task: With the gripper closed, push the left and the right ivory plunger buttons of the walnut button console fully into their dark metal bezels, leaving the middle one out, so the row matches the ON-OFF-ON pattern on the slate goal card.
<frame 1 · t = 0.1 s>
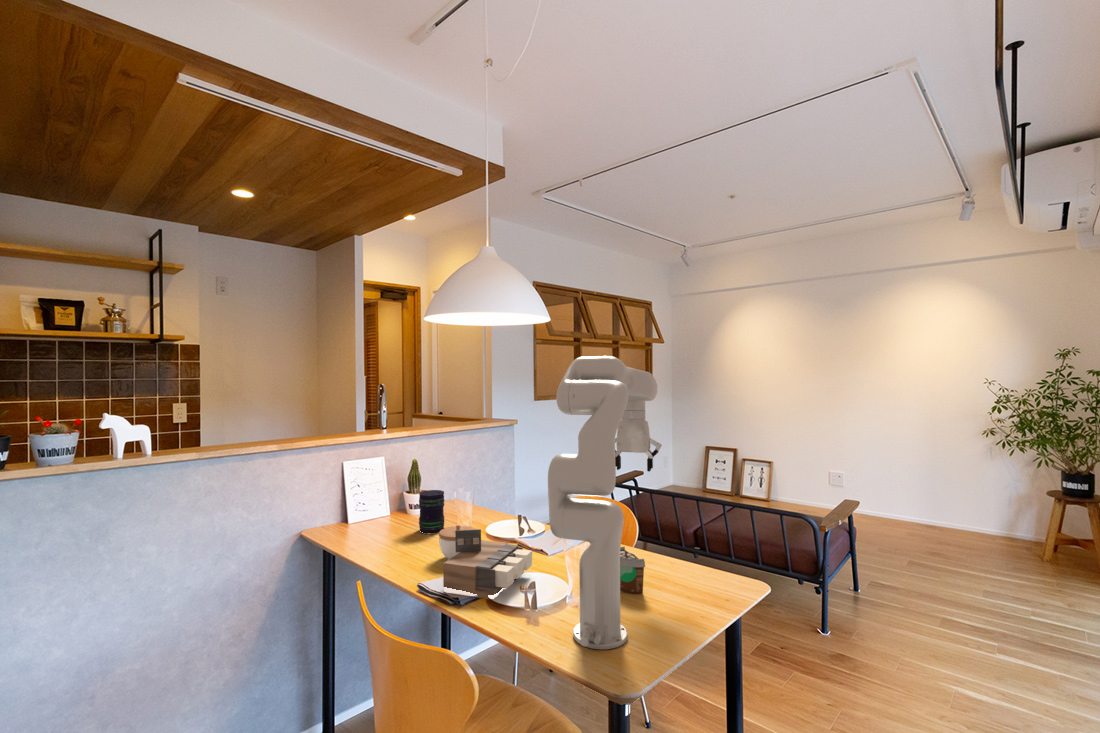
hand: (633, 469, 165), 31 cm above the table, fingers open, 9 cm apart
button mid: (512, 567, 153), point 5 cm above the table, slide at 0.0 cm
console: (492, 582, 155), on the table
lidded bowl: (458, 559, 176), on the table
storage jar: (431, 530, 208), on the table
food container: (624, 589, 150), on the table
button right: (521, 559, 159), point 5 cm above the table, slide at 0.0 cm
button left: (502, 576, 146), point 5 cm above the table, slide at 0.0 cm
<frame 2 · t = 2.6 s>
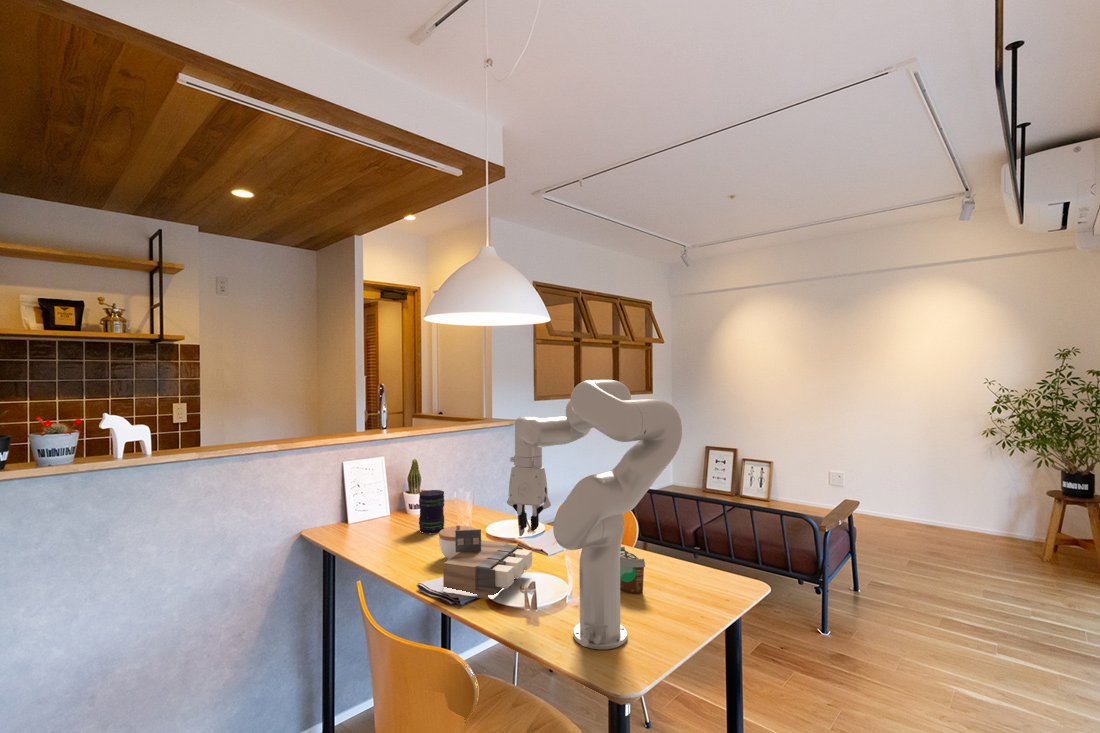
hand: (528, 528, 144), 19 cm above the table, fingers closed
nothing on the table moved.
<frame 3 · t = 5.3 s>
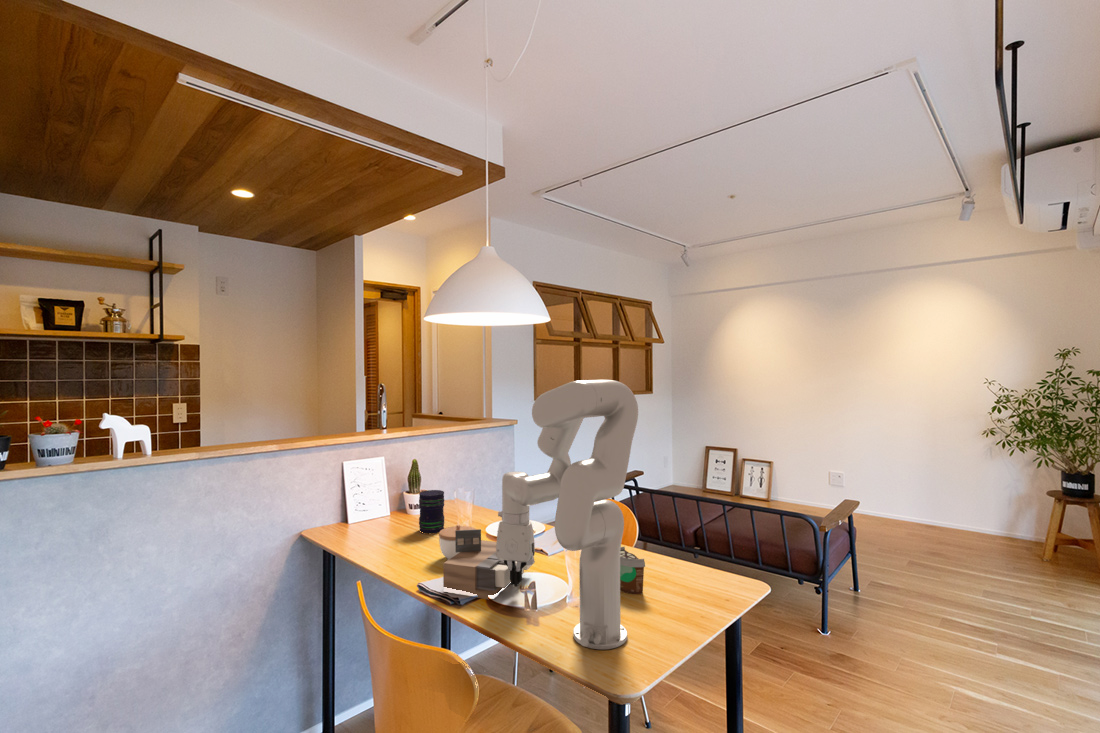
hand: (516, 583, 145), 4 cm above the table, fingers closed
button left: (499, 575, 147), point 5 cm above the table, slide at 1.0 cm, touching gripper
everything else where it was.
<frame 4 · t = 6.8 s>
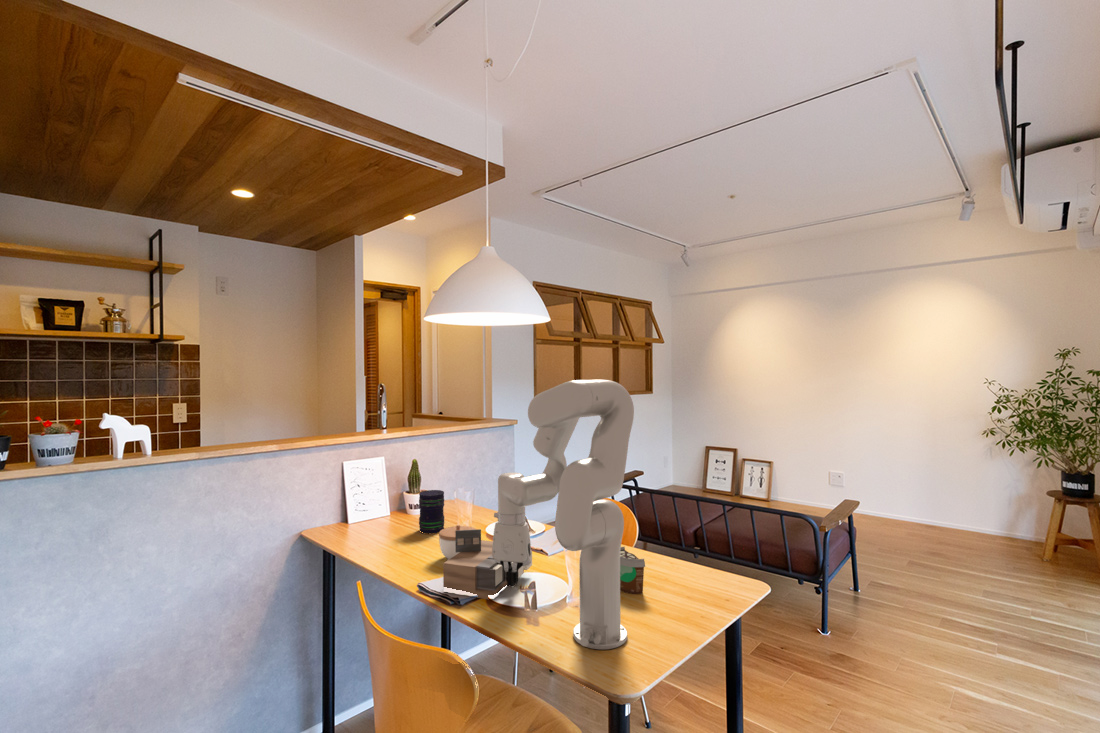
hand: (512, 584, 145), 3 cm above the table, fingers closed
button left: (491, 574, 147), point 5 cm above the table, slide at 3.6 cm
everything else where it was.
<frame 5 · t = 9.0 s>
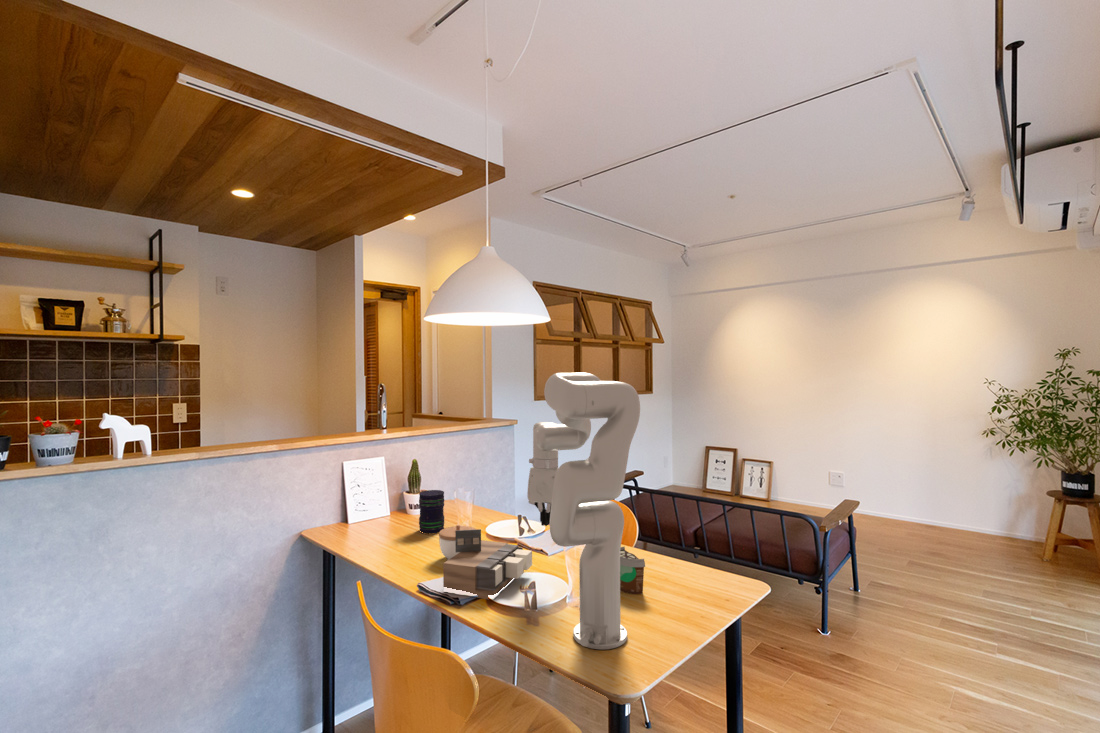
hand: (545, 524, 157), 16 cm above the table, fingers closed
nothing on the table moved.
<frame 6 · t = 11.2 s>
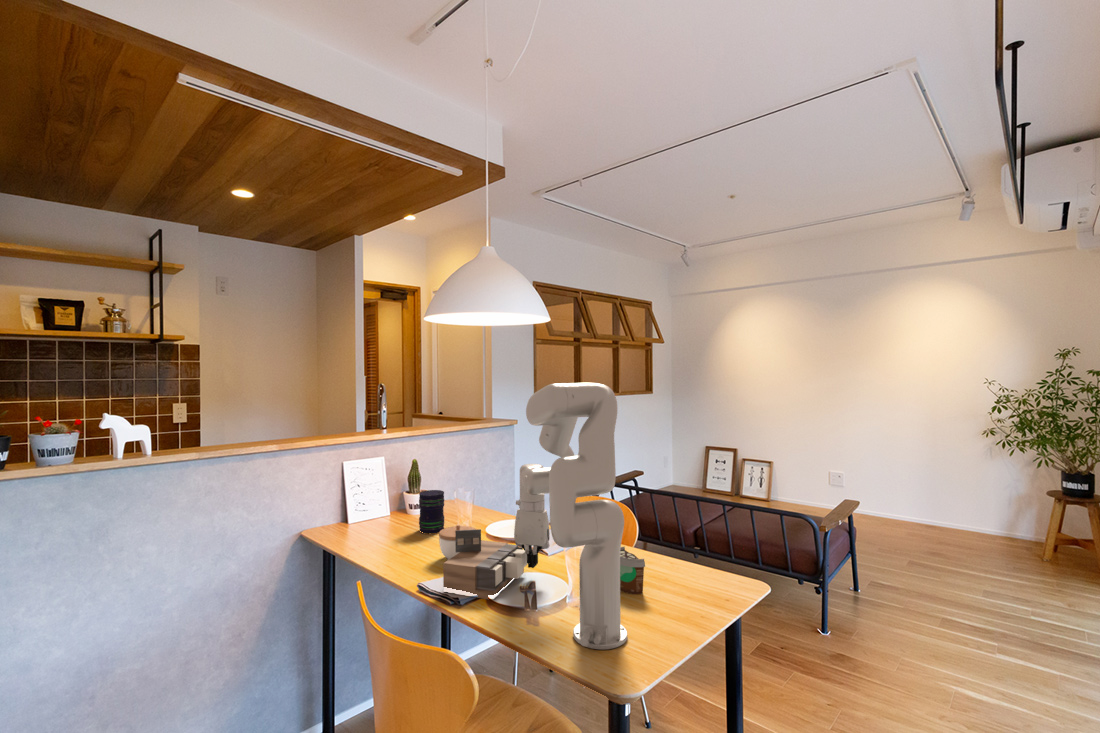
hand: (532, 566, 158), 4 cm above the table, fingers closed
button right: (517, 558, 160), point 5 cm above the table, slide at 1.6 cm, touching gripper
everything else where it was.
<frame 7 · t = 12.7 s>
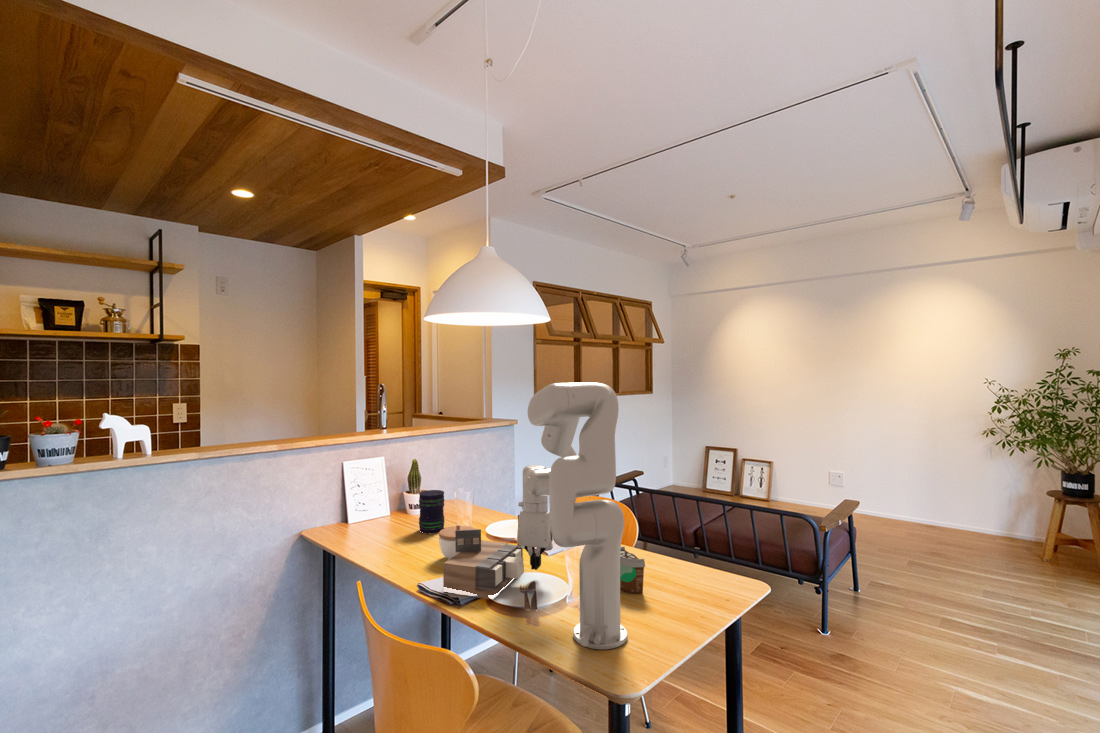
hand: (535, 567, 158), 3 cm above the table, fingers closed
button right: (511, 558, 161), point 5 cm above the table, slide at 3.6 cm
everything else where it was.
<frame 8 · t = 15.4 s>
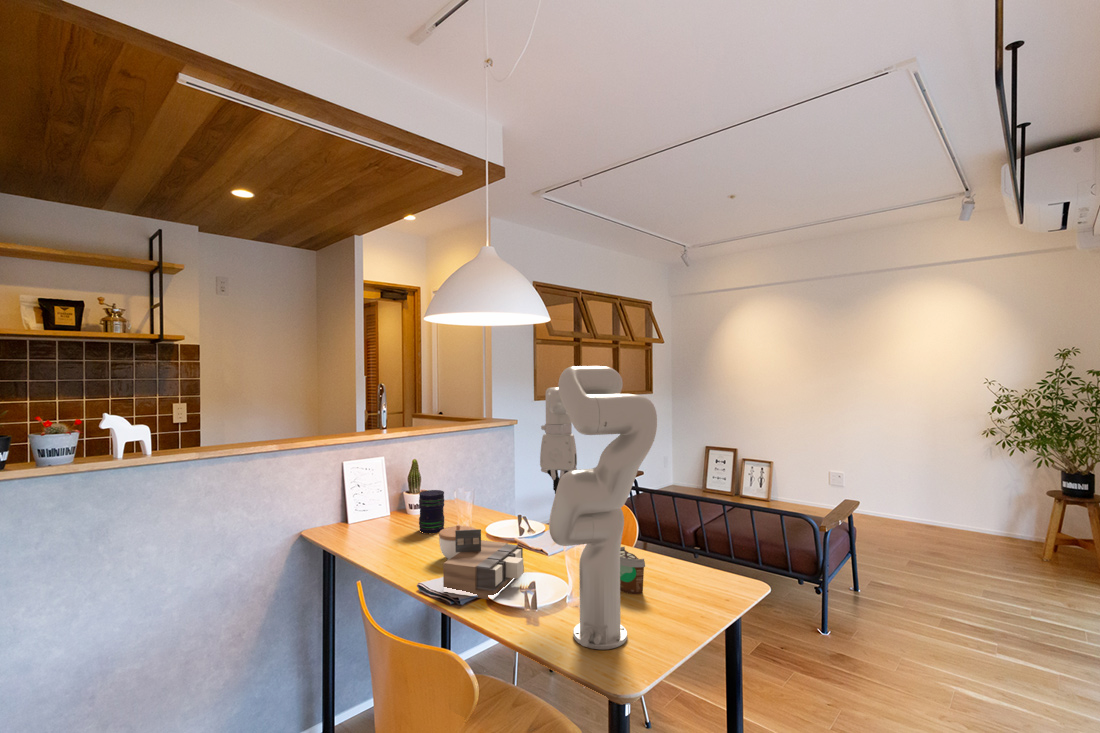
hand: (559, 493, 152), 27 cm above the table, fingers closed
nothing on the table moved.
at the end: button left slide at 3.6 cm; button right slide at 3.6 cm; button mid slide at 0.0 cm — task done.
